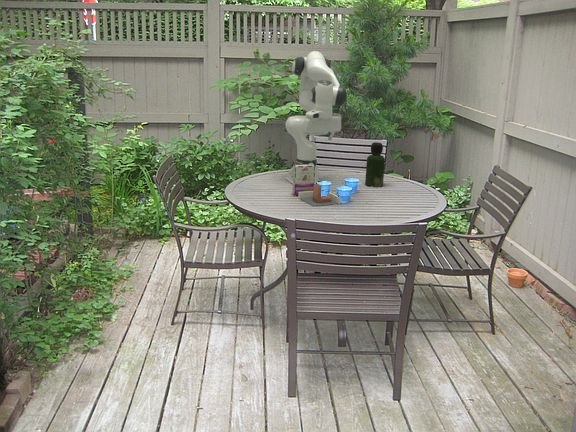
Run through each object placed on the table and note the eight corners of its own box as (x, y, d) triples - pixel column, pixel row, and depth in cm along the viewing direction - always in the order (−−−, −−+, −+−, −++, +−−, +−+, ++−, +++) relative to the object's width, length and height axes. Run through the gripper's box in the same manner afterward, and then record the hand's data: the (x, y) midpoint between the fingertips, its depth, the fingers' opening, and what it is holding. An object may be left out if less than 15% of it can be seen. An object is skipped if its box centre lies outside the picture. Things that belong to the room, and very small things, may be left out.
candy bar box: (311, 193, 349) (312, 163, 344) (314, 195, 344) (315, 165, 340) (291, 193, 346) (292, 164, 341) (294, 196, 341) (295, 166, 337)
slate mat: (299, 199, 336) (299, 198, 335) (323, 197, 342) (323, 196, 342) (313, 206, 322) (313, 205, 322) (338, 204, 328) (338, 203, 328)
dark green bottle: (386, 186, 371) (389, 144, 364) (370, 187, 367) (373, 144, 360) (377, 183, 380) (380, 141, 373) (361, 183, 376) (364, 141, 370)
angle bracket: (312, 200, 331) (313, 184, 328) (326, 199, 334) (327, 183, 332) (317, 203, 326) (318, 186, 324) (330, 202, 330) (331, 185, 327)
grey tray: (298, 198, 337) (298, 191, 336) (324, 196, 344) (325, 189, 343) (313, 206, 322) (314, 199, 321) (341, 204, 329) (341, 197, 328)
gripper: (338, 112, 328) (336, 138, 332) (302, 113, 320) (301, 140, 324) (344, 114, 323) (342, 141, 327) (308, 115, 314) (307, 142, 318)
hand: (321, 140), depth 325 cm, fingers open, 8 cm apart
